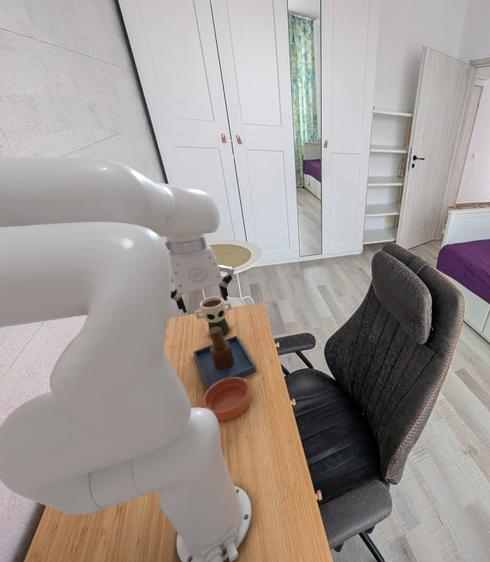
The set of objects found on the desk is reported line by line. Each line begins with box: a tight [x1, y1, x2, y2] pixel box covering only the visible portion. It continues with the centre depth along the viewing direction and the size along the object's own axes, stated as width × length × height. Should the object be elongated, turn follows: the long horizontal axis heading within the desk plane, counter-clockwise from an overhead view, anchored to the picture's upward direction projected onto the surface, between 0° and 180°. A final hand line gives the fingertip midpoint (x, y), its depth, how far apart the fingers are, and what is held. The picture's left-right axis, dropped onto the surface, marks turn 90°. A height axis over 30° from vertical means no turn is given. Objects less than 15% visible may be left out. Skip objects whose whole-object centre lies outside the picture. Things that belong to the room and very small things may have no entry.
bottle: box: [208, 327, 234, 370], centre depth 84 cm, size 5×5×14 cm
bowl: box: [202, 377, 253, 423], centre depth 76 cm, size 11×11×4 cm
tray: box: [192, 335, 257, 391], centre depth 87 cm, size 17×13×3 cm
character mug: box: [194, 295, 233, 336], centre depth 97 cm, size 11×7×13 cm, turn 126°
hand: (205, 304), depth 75 cm, fingers open, 9 cm apart
